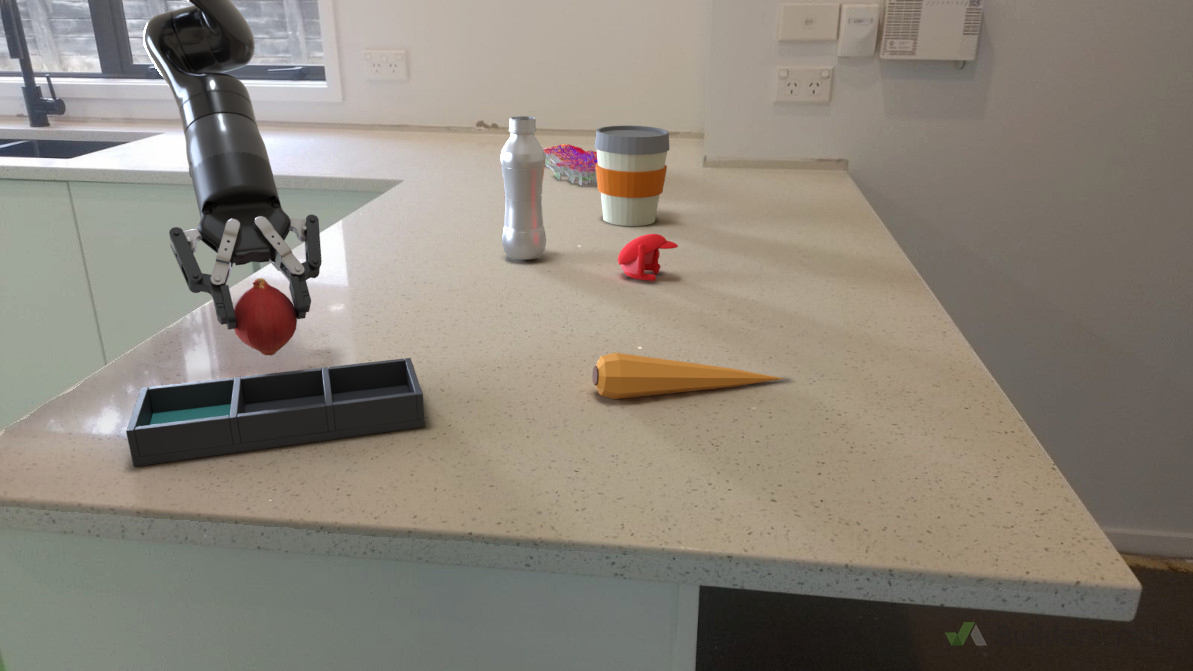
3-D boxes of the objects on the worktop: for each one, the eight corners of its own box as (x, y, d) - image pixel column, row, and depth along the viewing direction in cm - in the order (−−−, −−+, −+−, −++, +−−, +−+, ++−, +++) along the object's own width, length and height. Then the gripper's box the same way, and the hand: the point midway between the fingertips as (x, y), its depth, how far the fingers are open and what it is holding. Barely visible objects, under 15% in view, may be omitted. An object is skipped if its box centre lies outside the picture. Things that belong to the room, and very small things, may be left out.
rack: (133, 467, 68) (125, 431, 67) (147, 420, 75) (140, 387, 74) (424, 426, 75) (422, 393, 74) (412, 388, 82) (410, 357, 81)
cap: (622, 285, 112) (624, 241, 110) (613, 271, 118) (615, 229, 115) (680, 283, 114) (682, 240, 111) (668, 269, 119) (671, 228, 117)
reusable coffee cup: (680, 219, 145) (685, 131, 139) (633, 233, 136) (637, 139, 131) (624, 206, 153) (628, 123, 147) (577, 218, 144) (579, 130, 138)
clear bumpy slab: (532, 160, 192) (531, 137, 190) (595, 158, 196) (596, 135, 194) (560, 188, 165) (560, 162, 163) (633, 186, 169) (634, 160, 167)
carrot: (593, 408, 80) (603, 377, 77) (586, 374, 84) (595, 342, 81) (783, 409, 86) (799, 380, 82) (770, 377, 89) (785, 347, 86)
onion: (238, 346, 84) (227, 270, 81) (299, 340, 86) (291, 265, 83) (237, 369, 79) (225, 289, 76) (301, 362, 81) (292, 284, 78)
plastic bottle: (504, 265, 119) (501, 121, 111) (499, 252, 125) (496, 114, 118) (549, 263, 120) (549, 121, 113) (542, 250, 126) (542, 114, 119)
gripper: (149, 153, 78) (183, 315, 73) (308, 144, 85) (349, 292, 80) (154, 198, 84) (186, 349, 79) (302, 186, 91) (339, 325, 86)
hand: (268, 319), depth 79 cm, fingers closed on onion, 5 cm apart
